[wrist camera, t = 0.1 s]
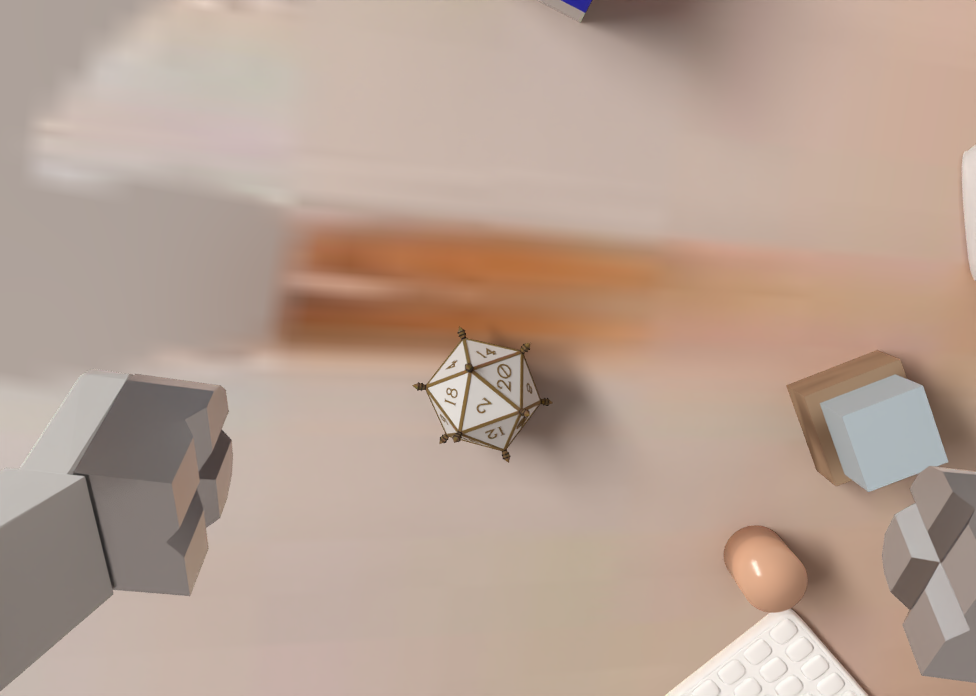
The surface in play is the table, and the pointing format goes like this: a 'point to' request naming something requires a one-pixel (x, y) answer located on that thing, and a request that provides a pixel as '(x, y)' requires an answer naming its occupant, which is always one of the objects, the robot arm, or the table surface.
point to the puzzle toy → (569, 7)
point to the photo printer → (970, 204)
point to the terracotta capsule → (765, 569)
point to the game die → (483, 394)
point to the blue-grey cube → (884, 432)
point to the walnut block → (830, 386)
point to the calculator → (772, 664)
